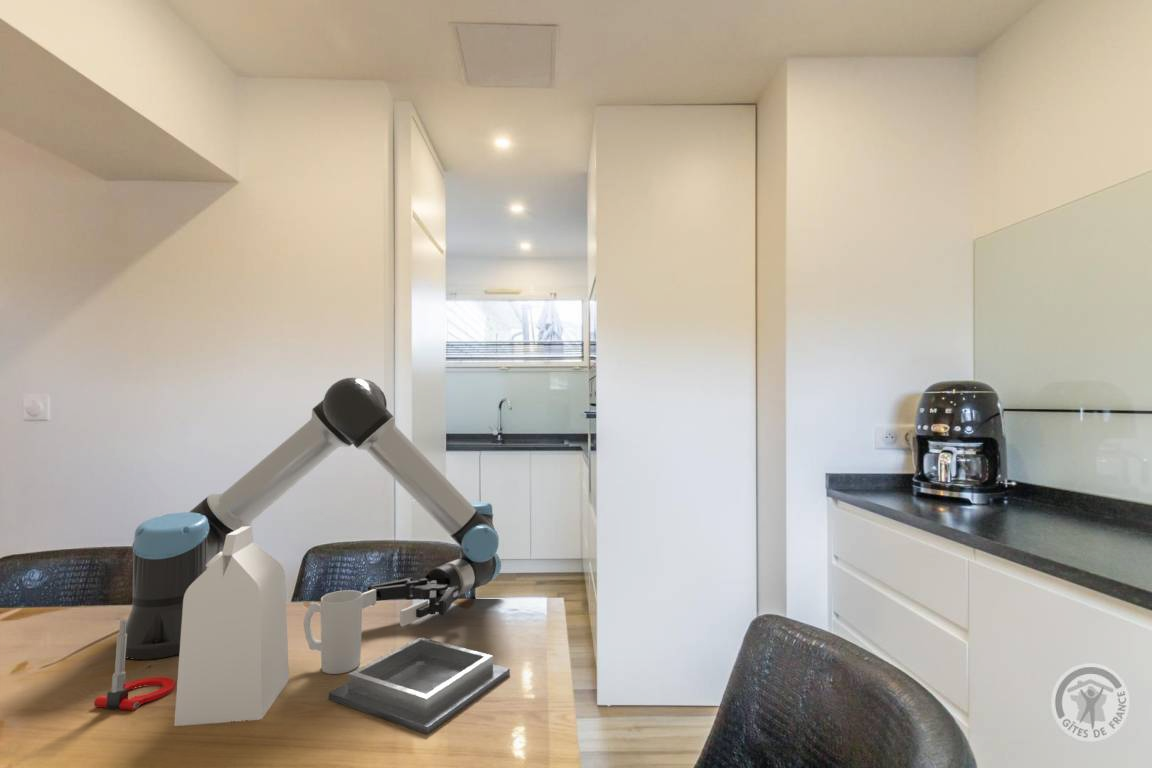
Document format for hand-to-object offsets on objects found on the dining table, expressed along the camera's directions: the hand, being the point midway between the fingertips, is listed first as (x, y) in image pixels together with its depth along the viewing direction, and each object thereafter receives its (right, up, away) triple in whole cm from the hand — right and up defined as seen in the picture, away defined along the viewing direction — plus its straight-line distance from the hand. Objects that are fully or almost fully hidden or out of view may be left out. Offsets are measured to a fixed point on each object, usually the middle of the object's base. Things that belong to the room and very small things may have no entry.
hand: (374, 612), depth 109 cm
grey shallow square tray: (+13, -6, -15) cm, 21 cm away
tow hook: (-30, -6, -18) cm, 36 cm away
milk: (-14, -6, -20) cm, 25 cm away
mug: (-5, -6, -8) cm, 11 cm away
